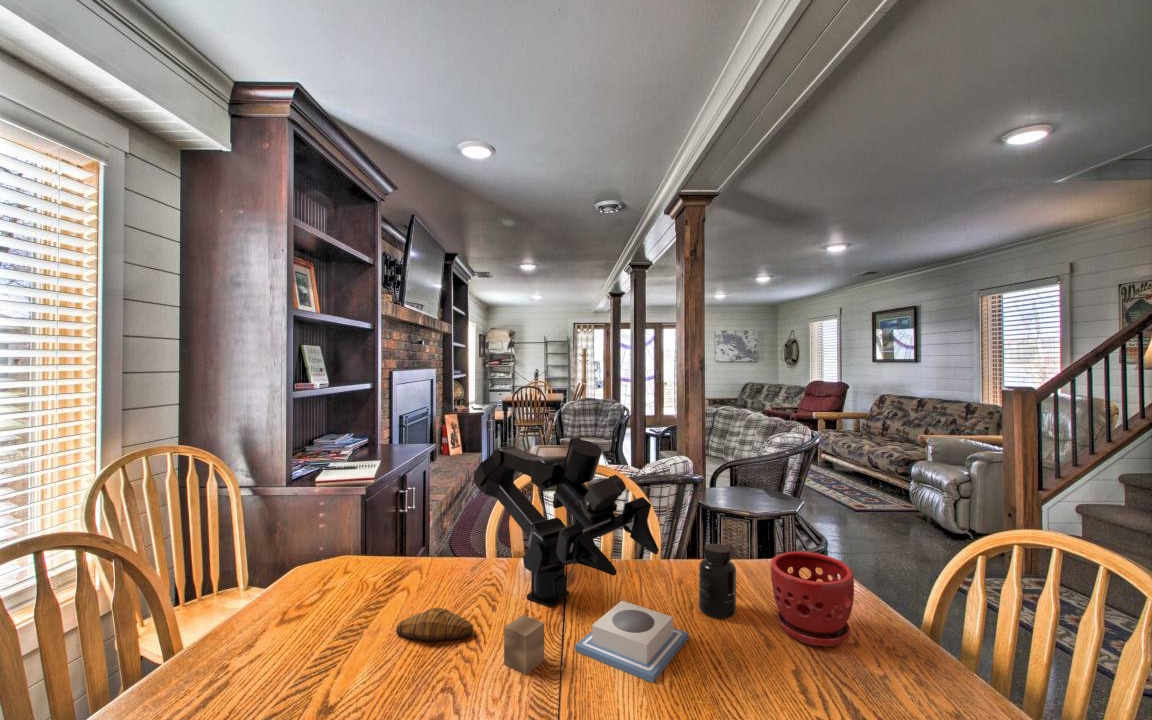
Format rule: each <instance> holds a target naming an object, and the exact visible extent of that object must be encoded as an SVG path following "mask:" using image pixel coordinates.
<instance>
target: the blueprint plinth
mask: <svg viewBox="0 0 1152 720" xmlns="http://www.w3.org/2000/svg"><path fill="white" fill-rule="evenodd" d="M689 635H690V634H689V632H687V631H684V630H682V629H678V628H676V627H674V616H671V615H668V614H664V613H662V612H659V611H655V610H652V609H649V608H646V607H644V606H640V605H637V604H634V603H630V602H627V601H625V600H621V601H619V602H618V603H617V604H616V605H615V606H613V607H612V608H611V609H609V611H608V612H606V613H604V615H603V616H601V617H600V618H599V619H597V620H596V621H595V622H594V623H593V624H592V625H591V631H590V632H588V634H586V635H585V636H584V637H582V639H581V640H579V642H577V643H576V644H575V645H574V649H575V652H577V653H579V654H581V655H583V656H587V657H589V658H591V659H594V660H595V661H598V662H601V663H603V664H605V665H608V666H611V667H612V668H615V669H618V670H620V671H623V672H625V673H628V674H630V675H632V676H634V675H635V677H637V678H639V677H640V678H639V679H642V680H644V681H647V682H650V683H652V684H653V683H654V682H655V681H656V680H657V679H658V677H659V676H660V675H661V674H662V672H663V671H664V670H665V668H667V666H668V665H669V664H670V662H671V661H673V659H674V658H675V656H676V655H677V654H678V652H679V651H680V650H681V649H682V647H683V646H684V645H685V643H686V642H687V641H688V640H689Z"/></svg>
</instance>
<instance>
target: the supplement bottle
mask: <svg viewBox="0 0 1152 720" xmlns="http://www.w3.org/2000/svg"><path fill="white" fill-rule="evenodd" d="M731 555H732V550H731V548H730V547H728V546H727V545H725V544H722V543H721V544H719V543H710V544H706V545H705V546H704V554H703V557H704V558H703V559H702V560H701V561H700V563H699V565H698V566H699V567H698V570H699V571H698V608H699V610H700V611H701V612H702V613H703V614H704V615H705V616H707V617H710V618H714V619H719V620H725V619H730V618H732V617H733V616H734V615H735V614H736V612H737V568H736V565H735V564H734V563H733V562H732V561H731V560H732V556H731Z"/></svg>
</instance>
